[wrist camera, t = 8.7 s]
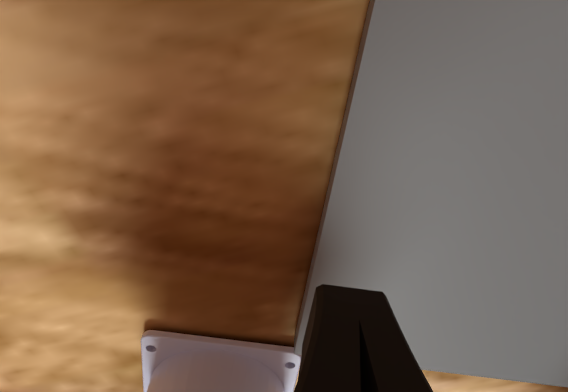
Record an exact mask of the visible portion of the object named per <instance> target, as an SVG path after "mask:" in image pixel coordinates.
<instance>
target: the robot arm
mask: <svg viewBox="0 0 568 392" xmlns="http://www.w3.org/2000/svg"><path fill="white" fill-rule="evenodd" d="M141 353H142V371H143V389H144V392H293V391H294V392H433V391H432V389H431V387H430V385H429V383H428V381H427V380H426V378H425V376H424V374H423V372H422V370H421V369H420V367H419V365H418V363H417V361H416V359H415V357H414V355H413V353H412V351H411V349H410V347H409V345H408V343H407V341H406V339H405V337H404V335H403V332H402V330H401V328H400V326H399V324H398V322H397V320H396V317H395V315H394V313H393V311H392V308H391V306H390V304H389V301H388V299H387V297H386V295H385V294H384V293H383V292H381V291H373V290H366V289H358V288H350V287H342V286H334V285H326V284H322V285H320V286H318V287H316V290H315V294H314V298H313V302H312V306H311V310H310V314H309V319H308V323H307V327H306V331H305V335H304V339H303V343H302V354H301V355H299V354H294V347H287V346H279V345H271V344H262V343H254V342H246V341H238V340H230V339H222V338H213V337H205V336H197V335H189V334H181V333H173V332H164V331H156V330H148V331H145V332H144V333H143V335H142V338H141ZM299 367H300V370H299ZM298 371H299V377H298V382H297V385H296V387H295V383H296V379H297V375H298ZM294 387H295V390H294Z"/></svg>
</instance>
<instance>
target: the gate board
mask: <svg viewBox="0 0 568 392" xmlns="http://www.w3.org/2000/svg"><path fill="white" fill-rule="evenodd" d="M322 284H326V285H334V286H342V287H350V288H358V289H366V290H373V291H381V292H383V293H384V294H385V295H386V297H387V299H388V301H389V304H390V306H391V308H392V311H393V313H394V315H395V317H396V320H397V322H398V324H399V326H400V328H401V330H402V332H403V335H404V337H405V339H406V341H407V343H408V345H409V347H410V349H411V351H412V353H413V355H414V357H415V359H416V361H417V363H418V365H419V367H420V369H422V370H430V371H438V372H446V373H455V374H463V375H471V376H479V377H487V378H496V379H504V380H512V381H520V382H528V383H537V384H545V385H553V386H561V387H568V0H370V2H369V7H368V11H367V16H366V20H365V25H364V29H363V34H362V38H361V42H360V47H359V51H358V56H357V60H356V65H355V69H354V74H353V78H352V83H351V87H350V92H349V96H348V101H347V105H346V109H345V114H344V118H343V123H342V127H341V132H340V136H339V141H338V145H337V150H336V154H335V159H334V163H333V167H332V172H331V176H330V181H329V185H328V190H327V194H326V199H325V203H324V208H323V212H322V217H321V221H320V226H319V230H318V234H317V239H316V243H315V248H314V252H313V257H312V261H311V266H310V270H309V275H308V279H307V284H306V288H305V292H304V297H303V301H302V306H301V310H300V315H299V319H298V324H297V328H296V333H295V338H294V354H299V355H301V354H302V343H303V339H304V335H305V331H306V327H307V323H308V319H309V314H310V310H311V306H312V302H313V298H314V294H315V290H316V287H318V286H320V285H322Z"/></svg>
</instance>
